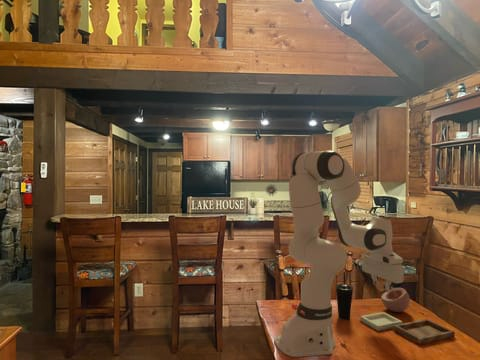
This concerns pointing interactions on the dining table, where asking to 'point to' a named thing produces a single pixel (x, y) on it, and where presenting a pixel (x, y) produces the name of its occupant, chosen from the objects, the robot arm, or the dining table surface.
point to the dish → (424, 331)
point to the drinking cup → (344, 300)
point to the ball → (380, 285)
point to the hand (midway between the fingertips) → (381, 287)
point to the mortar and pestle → (396, 299)
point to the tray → (380, 321)
